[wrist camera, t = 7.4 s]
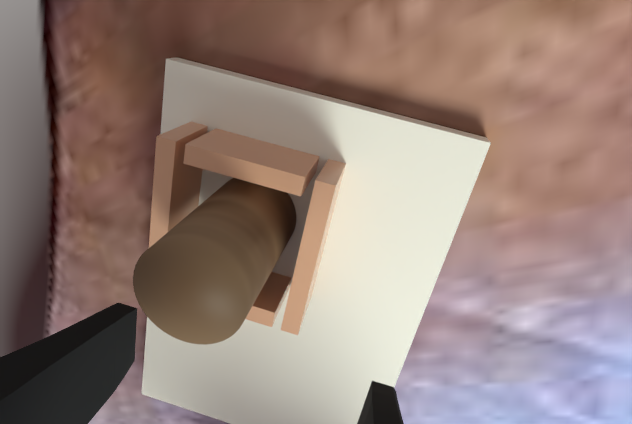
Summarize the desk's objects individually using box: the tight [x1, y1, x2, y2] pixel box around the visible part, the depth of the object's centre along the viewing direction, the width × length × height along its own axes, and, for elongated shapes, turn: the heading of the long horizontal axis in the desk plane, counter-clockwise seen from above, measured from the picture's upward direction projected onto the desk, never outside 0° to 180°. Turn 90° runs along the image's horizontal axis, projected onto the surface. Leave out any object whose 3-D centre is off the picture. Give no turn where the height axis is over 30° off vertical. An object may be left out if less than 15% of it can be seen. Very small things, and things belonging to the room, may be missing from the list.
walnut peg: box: [133, 178, 296, 345], centre depth 18 cm, size 4×4×7 cm
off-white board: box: [142, 57, 491, 424], centre depth 23 cm, size 20×14×1 cm
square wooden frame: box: [149, 122, 346, 335], centre depth 20 cm, size 7×7×3 cm
